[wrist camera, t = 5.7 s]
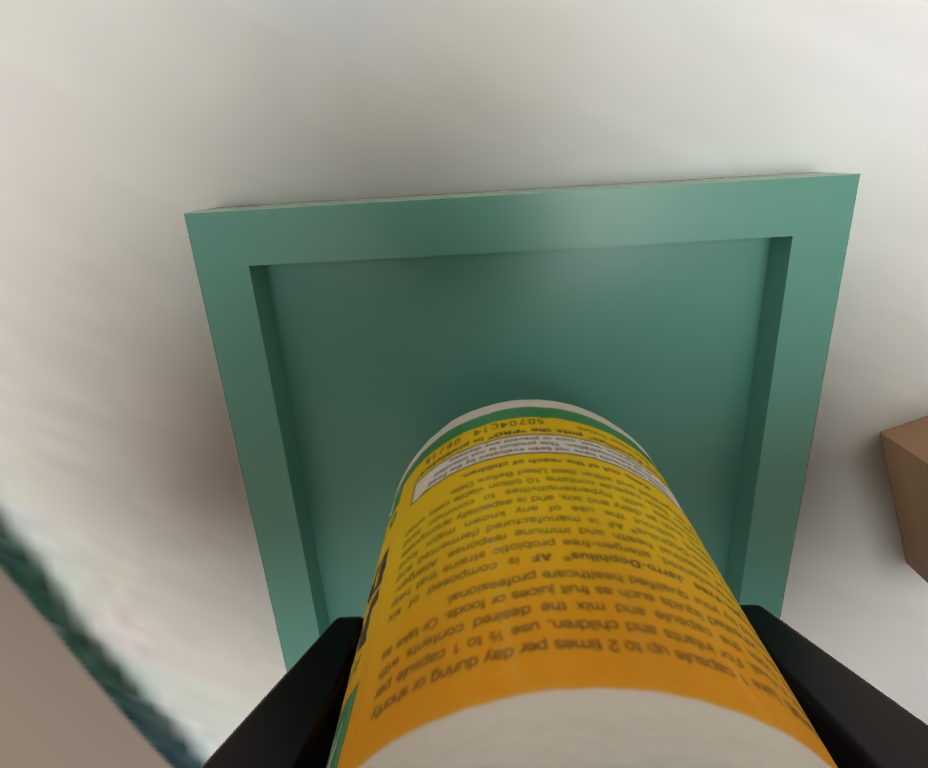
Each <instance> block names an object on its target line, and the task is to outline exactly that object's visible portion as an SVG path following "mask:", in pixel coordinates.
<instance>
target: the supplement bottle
mask: <svg viewBox="0 0 928 768" xmlns="http://www.w3.org/2000/svg"><path fill="white" fill-rule="evenodd" d="M326 768H838V767H837V766H836V764H835V762H834V761H833V759H832V757H831V756H830V754H829V752H828V751H827V749H826V747H825V746H824V744H823V743H822V741H821V739H820V738H819V736H818V734H817V733H816V731H815V729H814V728H813V726H812V724H811V723H810V721H809V719H808V718H807V716H806V714H805V713H804V711H803V709H802V708H801V706H800V704H799V703H798V701H797V699H796V698H795V696H794V694H793V693H792V691H791V689H790V688H789V686H788V685H787V683H786V681H785V680H784V678H783V676H782V675H781V673H780V671H779V670H778V668H777V666H776V665H775V663H774V662H773V660H772V658H771V657H770V655H769V653H768V652H767V650H766V648H765V647H764V645H763V644H762V642H761V640H760V639H759V637H758V635H757V634H756V632H755V630H754V629H753V627H752V625H751V624H750V622H749V621H748V619H747V617H746V616H745V614H744V612H743V611H742V609H741V607H740V606H739V604H738V602H737V601H736V599H735V597H734V596H733V594H732V592H731V591H730V589H729V587H728V586H727V584H726V582H725V581H724V579H723V577H722V576H721V574H720V572H719V570H718V568H717V567H716V565H715V563H714V562H713V560H712V559H711V557H710V555H709V554H708V552H707V551H706V549H705V547H704V545H703V544H702V542H701V540H700V538H699V537H698V535H697V533H696V532H695V530H694V528H693V527H692V525H691V523H690V522H689V520H688V518H687V517H686V515H685V514H684V512H683V510H682V508H681V507H680V505H679V503H678V502H677V500H676V498H675V497H674V495H673V493H672V492H671V490H670V488H669V486H668V485H667V483H666V481H665V479H664V478H663V476H662V475H661V473H660V471H659V470H658V468H657V467H656V465H655V464H654V463H653V461H652V460H651V458H650V457H649V456H648V454H647V453H646V452H645V450H644V449H643V448H642V447H641V446H640V445H639V444H638V443H637V442H636V441H635V440H634V439H633V438H632V437H630V436H629V435H628V434H627V433H625V432H624V431H623V430H621V429H620V428H618V427H617V426H615V425H614V424H612V423H611V422H609V421H608V420H606V419H604V418H602V417H600V416H598V415H596V414H594V413H592V412H590V411H588V410H585V409H583V408H580V407H577V406H574V405H571V404H566V403H561V402H557V401H549V400H539V399H535V400H513V401H506V402H501V403H496V404H493V405H489V406H486V407H483V408H479V409H477V410H474V411H471V412H469V413H466V414H464V415H462V416H460V417H458V418H456V419H454V420H453V421H451V422H450V423H449V424H448V425H446V426H445V427H444V428H443V429H441V430H440V431H439V432H438V433H437V434H435V435H434V436H433V437H432V438H430V439H429V440H428V442H427V443H426V444H425V445H424V446H423V447H422V449H421V450H420V451H419V452H418V453H417V455H416V456H415V457H414V459H413V460H412V461H411V463H410V464H409V466H408V468H407V470H406V472H405V473H404V475H403V477H402V479H401V481H400V484H399V486H398V489H397V492H396V495H395V498H394V501H393V505H392V508H391V512H390V516H389V520H388V524H387V528H386V531H385V534H384V539H383V544H382V549H381V553H380V557H379V561H378V565H377V569H376V573H375V577H374V581H373V585H372V588H371V591H370V595H369V599H368V603H367V608H366V613H365V617H364V621H363V626H362V630H361V635H360V638H359V641H358V644H357V649H356V654H355V658H354V662H353V665H352V668H351V672H350V676H349V681H348V685H347V689H346V693H345V697H344V701H343V704H342V709H341V713H340V717H339V721H338V725H337V729H336V733H335V737H334V740H333V744H332V747H331V751H330V755H329V759H328V763H327V767H326Z"/></svg>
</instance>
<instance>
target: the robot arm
mask: <svg viewBox="0 0 928 768" xmlns="http://www.w3.org/2000/svg"><path fill="white" fill-rule="evenodd" d="M739 606H740V607H741V609H742V611H743V612H744V614H745V616H746V617H747V619H748V621H749V622H750V624H751V625H752V627H753V629H754V630H755V632H756V634H757V635H758V637H759V639H760V640H761V642H762V644H763V645H764V647H765V648H766V650H767V652H768V653H769V655H770V657H771V658H772V660H773V662H774V663H775V665H776V666H777V668H778V670H779V671H780V673H781V675H782V676H783V678H784V680H785V681H786V683H787V685H788V686H789V688H790V689H791V691H792V693H793V694H794V696H795V698H796V699H797V701H798V703H799V704H800V706H801V708H802V709H803V711H804V713H805V714H806V716H807V718H808V719H809V721H810V723H811V724H812V726H813V728H814V729H815V731H816V733H817V734H818V736H819V738H820V739H821V741H822V743H823V744H824V746H825V747H826V749H827V751H828V752H829V754H830V756H831V757H832V759H833V761H834V762H835V764H836V766H837V767H838V768H928V725H926V724H925V723H923V722H922V721H921V720H919V719H918V718H916V717H915V716H914V715H912V714H911V713H910V712H908V711H907V710H905V709H904V708H903V707H901V706H900V705H898V704H897V703H896V702H894V701H893V700H891V699H890V698H889V697H887V696H886V695H884V694H883V693H882V692H880V691H879V690H877V689H876V688H875V687H873V686H872V685H871V684H869V683H868V682H866V681H865V680H864V679H862V678H861V677H859V676H858V675H857V674H855V673H854V672H852V671H851V670H850V669H848V668H847V667H845V666H844V665H843V664H841V663H840V662H838V661H837V660H836V659H834V658H833V657H832V656H830V655H829V654H827V653H826V652H825V651H823V650H822V649H820V648H819V647H818V646H816V645H815V644H813V643H812V642H811V641H809V640H808V639H806V638H805V637H804V636H802V635H801V634H799V633H798V632H797V631H795V630H794V629H793V628H791V627H790V626H788V625H787V624H786V623H784V622H783V621H781V620H780V619H779V618H777V617H776V616H774V615H773V614H772V613H770V612H769V611H767V610H766V609H765V608H763V607H761V606H759V605H755V604H751V605H739ZM363 621H364V618H362V617H360V616H354V617H339V618H337V619H335V620H334V621H333V622H332V623H331V625H330V626H329V627H328V628H327V629H326V630H325V631H324V632H323V633H322V635H321V636H320V637H319V638H318V639H317V640H316V641H315V642H314V643H313V644H312V646H311V647H310V648H309V649H308V650H307V651H306V652H305V653H304V654H303V656H302V657H301V658H300V659H299V660H298V661H297V662H296V663H295V664H294V665H293V667H292V668H291V669H290V670H289V671H288V672H287V673H286V674H285V675H284V676H283V678H282V679H281V680H280V681H279V682H278V683H277V684H276V685H275V686H274V688H273V689H272V690H271V691H270V692H269V693H268V694H267V695H266V696H265V697H264V699H263V700H262V701H261V702H260V703H259V704H258V705H257V706H256V707H255V709H254V710H253V711H252V712H251V713H250V714H249V715H248V716H247V717H246V718H245V720H244V721H243V722H242V723H241V724H240V725H239V726H238V727H237V728H236V729H235V731H234V732H233V733H232V734H231V735H230V736H229V737H228V738H227V739H226V741H225V742H224V743H223V744H222V745H221V746H220V747H219V748H218V749H217V750H216V752H215V753H214V754H213V755H212V756H211V757H210V758H209V759H208V760H207V762H206V763H205V764H204V765H203V766H202V767H201V768H326V767H327V763H328V759H329V755H330V751H331V747H332V744H333V740H334V737H335V733H336V729H337V725H338V721H339V717H340V713H341V709H342V704H343V701H344V697H345V693H346V689H347V685H348V681H349V676H350V672H351V668H352V665H353V662H354V658H355V654H356V649H357V644H358V641H359V638H360V635H361V630H362V626H363Z"/></svg>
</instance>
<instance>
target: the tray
mask: <svg viewBox="0 0 928 768" xmlns="http://www.w3.org/2000/svg"><path fill="white" fill-rule="evenodd" d="M859 177H860V174H845V173H821V172H812V173H796V174H779V175H762V176H745V177H728V178H711V179H694V180H677V181H660V182H643V183H626V184H609V185H592V186H575V187H558V188H541V189H524V190H507V191H490V192H473V193H456V194H440V195H423V196H406V197H389V198H372V199H355V200H338V201H321V202H304V203H287V204H270V205H253V206H236V207H219V208H212V209H207V210H201V211H196V212H191V213H186V214H184V215H185V220H186V224H187V229H188V233H189V238H190V242H191V247H192V251H193V255H194V260H195V264H196V269H197V273H198V278H199V282H200V287H201V291H202V296H203V300H204V304H205V309H206V313H207V318H208V322H209V327H210V331H211V336H212V340H213V345H214V349H215V353H216V358H217V362H218V367H219V371H220V376H221V380H222V385H223V389H224V394H225V398H226V402H227V407H228V411H229V416H230V420H231V425H232V429H233V434H234V438H235V442H236V447H237V451H238V456H239V460H240V465H241V469H242V474H243V478H244V483H245V487H246V491H247V496H248V500H249V505H250V509H251V514H252V518H253V523H254V527H255V532H256V536H257V540H258V545H259V549H260V554H261V558H262V563H263V567H264V572H265V576H266V581H267V585H268V589H269V594H270V598H271V603H272V607H273V612H274V616H275V621H276V625H277V630H278V634H279V638H280V643H281V647H282V652H283V656H284V661H285V665H286V670H287V672H288V671H289V670H290V669H291V668H292V667H293V665H294V664H295V663H296V662H297V661H298V660H299V659H300V658H301V657H302V656H303V654H304V653H305V652H306V651H307V650H308V649H309V648H310V647H311V646H312V644H313V643H314V642H315V641H316V640H317V639H318V638H319V637H320V636H321V635H322V633H323V632H324V631H325V630H326V629H327V628H328V627H329V626H330V625H331V623H332V622H333V621H334V620H335V619H337V618H339V617H354V616H360V617H362V618H364V617H365V613H366V608H367V603H368V599H369V595H370V591H371V588H372V585H373V581H374V577H375V573H376V569H377V565H378V561H379V557H380V553H381V549H382V544H383V539H384V534H385V531H386V528H387V524H388V520H389V516H390V512H391V508H392V505H393V501H394V498H395V495H396V492H397V489H398V486H399V484H400V481H401V479H402V477H403V475H404V473H405V472H406V470H407V468H408V466H409V464H410V463H411V461H412V460H413V459H414V457H415V456H416V455H417V453H418V452H419V451H420V450H421V449H422V447H423V446H424V445H425V444H426V443H427V442H428V440H429V439H430V438H432V437H433V436H434V435H435V434H437V433H438V432H439V431H440V430H441V429H443V428H444V427H445V426H446V425H448V424H449V423H450V422H451V421H453V420H454V419H456V418H458V417H460V416H462V415H464V414H466V413H469V412H471V411H474V410H477V409H479V408H483V407H486V406H489V405H493V404H496V403H501V402H506V401H513V400H535V399H539V400H549V401H557V402H561V403H566V404H571V405H574V406H577V407H580V408H583V409H585V410H588V411H590V412H592V413H594V414H596V415H598V416H600V417H602V418H604V419H606V420H608V421H609V422H611V423H612V424H614V425H615V426H617V427H618V428H620V429H621V430H623V431H624V432H625V433H627V434H628V435H629V436H630V437H632V438H633V439H634V440H635V441H636V442H637V443H638V444H639V445H640V446H641V447H642V448H643V449H644V450H645V452H646V453H647V454H648V456H649V457H650V458H651V460H652V461H653V463H654V464H655V465H656V467H657V468H658V470H659V471H660V473H661V475H662V476H663V478H664V479H665V481H666V483H667V485H668V486H669V488H670V490H671V492H672V493H673V495H674V497H675V498H676V500H677V502H678V503H679V505H680V507H681V508H682V510H683V512H684V514H685V515H686V517H687V518H688V520H689V522H690V523H691V525H692V527H693V528H694V530H695V532H696V533H697V535H698V537H699V538H700V540H701V542H702V544H703V545H704V547H705V549H706V551H707V552H708V554H709V555H710V557H711V559H712V560H713V562H714V563H715V565H716V567H717V568H718V570H719V572H720V574H721V576H722V577H723V579H724V581H725V582H726V584H727V586H728V587H729V589H730V591H731V592H732V594H733V596H734V597H735V599H736V601H737V602H738V604H739V605H751V604H755V605H759V606H761V607H763V608H765V609H766V610H767V611H769V612H770V613H772V614H773V615H774V616H776V617H777V618H779V619H780V614H781V609H782V603H783V598H784V592H785V587H786V581H787V575H788V570H789V564H790V559H791V553H792V548H793V542H794V537H795V531H796V526H797V520H798V515H799V509H800V504H801V498H802V492H803V487H804V481H805V476H806V470H807V465H808V459H809V454H810V448H811V443H812V437H813V432H814V426H815V421H816V415H817V410H818V404H819V398H820V393H821V387H822V382H823V376H824V371H825V365H826V360H827V354H828V349H829V343H830V338H831V332H832V327H833V321H834V315H835V310H836V304H837V299H838V293H839V288H840V282H841V277H842V271H843V266H844V260H845V255H846V249H847V244H848V238H849V233H850V227H851V221H852V216H853V210H854V205H855V199H856V194H857V188H858V183H859Z"/></svg>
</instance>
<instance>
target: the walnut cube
mask: <svg viewBox="0 0 928 768" xmlns="http://www.w3.org/2000/svg"><path fill="white" fill-rule="evenodd" d="M880 433H881V438H882V443H883V448H884V453H885V458H886V463H887V468H888V473H889V478H890V483H891V488H892V493H893V498H894V503H895V509H896V514H897V519H898V524H899V529H900V534H901V539H902V544H903V549H904V554H905V559H906V563H907V564H908V565H910V566H911V567H912V568H913V569H914V570H915V571H916V572H917V573H918V574H919V575H920V576H921V577H922V578H923V579H925V580H926V581H927V582H928V416H927V417H924V418H921V419H918V420H915V421H912V422H909V423H906V424H903V425H900V426H897V427H894V428H891V429H889V430H886V431H883V432H880Z"/></svg>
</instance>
